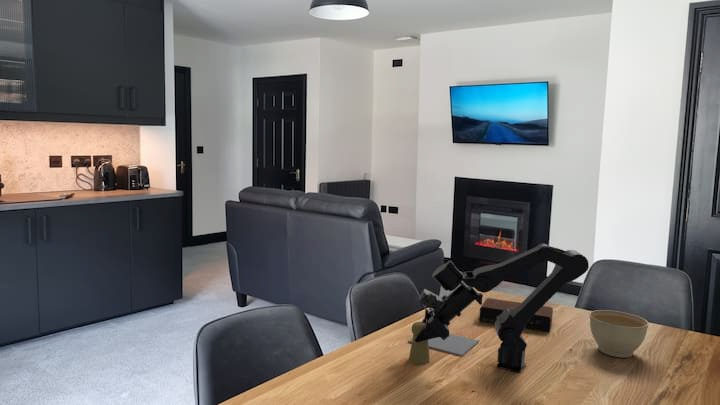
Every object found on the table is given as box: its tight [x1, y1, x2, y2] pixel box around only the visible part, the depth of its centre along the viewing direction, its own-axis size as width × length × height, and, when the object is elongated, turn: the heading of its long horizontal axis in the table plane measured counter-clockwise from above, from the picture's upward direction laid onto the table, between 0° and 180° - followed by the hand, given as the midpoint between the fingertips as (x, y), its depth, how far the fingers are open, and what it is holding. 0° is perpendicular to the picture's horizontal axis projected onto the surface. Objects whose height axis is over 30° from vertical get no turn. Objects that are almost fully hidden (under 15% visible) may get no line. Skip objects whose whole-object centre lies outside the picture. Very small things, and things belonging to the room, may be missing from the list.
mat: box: [407, 333, 480, 357], centre depth 165 cm, size 18×14×1 cm
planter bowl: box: [589, 309, 649, 358], centre depth 161 cm, size 16×16×11 cm
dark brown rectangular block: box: [478, 297, 554, 333], centre depth 186 cm, size 24×12×6 cm, turn 67°
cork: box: [408, 321, 431, 365], centre depth 151 cm, size 6×6×11 cm
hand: (415, 337), depth 151 cm, fingers closed on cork, 5 cm apart
